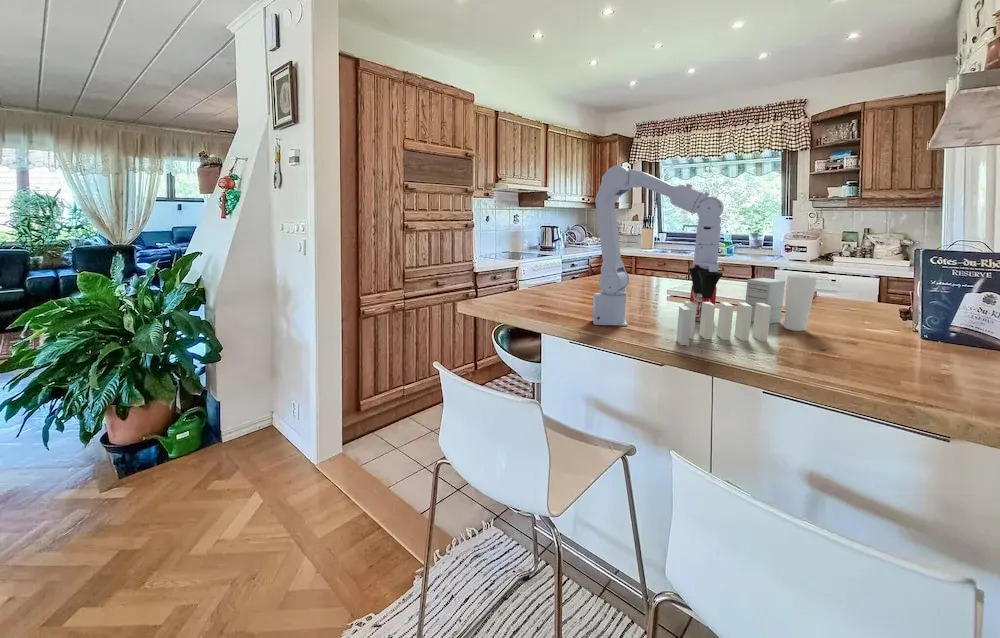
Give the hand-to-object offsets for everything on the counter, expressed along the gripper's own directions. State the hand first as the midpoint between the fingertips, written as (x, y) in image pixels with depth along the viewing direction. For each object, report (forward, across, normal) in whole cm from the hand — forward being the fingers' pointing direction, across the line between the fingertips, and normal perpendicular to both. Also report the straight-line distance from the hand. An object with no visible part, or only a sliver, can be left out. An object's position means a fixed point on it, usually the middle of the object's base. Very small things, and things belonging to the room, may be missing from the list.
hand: (702, 295), depth 130 cm
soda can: (+10, +16, -5) cm, 20 cm away
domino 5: (+10, -5, -9) cm, 15 cm away
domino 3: (+10, -5, 0) cm, 11 cm away
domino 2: (+10, -4, +4) cm, 12 cm away
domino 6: (+10, -5, -14) cm, 18 cm away
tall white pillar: (+10, +7, -28) cm, 31 cm away
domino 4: (+10, -5, -5) cm, 12 cm away
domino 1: (+10, -11, +7) cm, 17 cm away
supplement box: (+10, +17, -23) cm, 31 cm away
